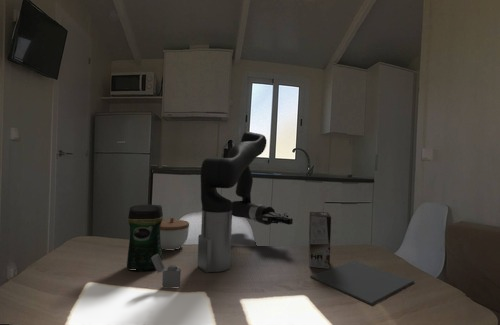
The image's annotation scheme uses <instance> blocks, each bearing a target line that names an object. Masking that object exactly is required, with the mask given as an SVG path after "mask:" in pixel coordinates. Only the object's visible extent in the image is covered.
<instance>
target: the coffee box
mask: <svg viewBox="0 0 500 325" xmlns="http://www.w3.org/2000/svg"><path fill="white" fill-rule="evenodd" d="M331 221H332V216H331V215H330V213H329V212H326V211H324V212H323V211H310V212H309V226H308V231H309V232H308V235H309V237H308V263H309V265H308V266H309V267H310V268H319V269H325V270H328V269H331V268H330V265H331V264H330V263H331V262H330V261H331V236H332V234H331V232H332V222H331Z"/></svg>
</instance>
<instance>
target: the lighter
mask: <svg viewBox="0 0 500 325" xmlns="http://www.w3.org/2000/svg"><path fill="white" fill-rule="evenodd" d="M151 259H152V261H153V264H154V266H155V268H156V269H155V270H156V272H157V274H158V273H161V272H162V282H161V284H162V285H161V286H163V287H179V286H180V287H181V271H182V269H181V268H178V266H177V265H175V264H169V265H167V268H165V265H164V263H163V260H162V261H161V259H160V256H159V254H156V255H154V256H153V257H152V258H151ZM180 287H179V288H180Z"/></svg>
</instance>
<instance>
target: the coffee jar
mask: <svg viewBox="0 0 500 325" xmlns="http://www.w3.org/2000/svg"><path fill="white" fill-rule="evenodd" d="M163 213H164V212H163V207H162V205H161V204H134V205H132V206H130V208H129V212H128V215H127V216H128V217H127V222H128V225H129V243H128V250H127V251H128V252H127V258H126V268H129V269H136V270H145V271H152V270H151V269H154V270H156V268H155V266H154V264H153V261H152V259H151V258H152V257H153V256H154V255H156V254H159V256H160V259H161V261H162V262H163V254H162V252H163V250H162V249H161V240H160V225H161V222H162V221H164V214H163ZM129 269H128V270H129Z"/></svg>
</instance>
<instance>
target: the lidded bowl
mask: <svg viewBox="0 0 500 325" xmlns="http://www.w3.org/2000/svg"><path fill="white" fill-rule="evenodd" d="M189 228H190V222H189V221H187V220H184V219H183V220H182V219H174V217H170V219H165V220H164V219H163V220H162V222H161V225H160V240H161V248H163V249H176V248H179V247H181V248H182V246H184V244H185V243H186V242H187V239H188V236H189V230H190V229H189Z"/></svg>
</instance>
